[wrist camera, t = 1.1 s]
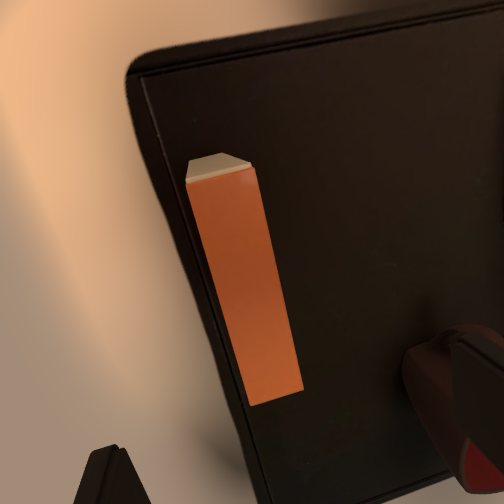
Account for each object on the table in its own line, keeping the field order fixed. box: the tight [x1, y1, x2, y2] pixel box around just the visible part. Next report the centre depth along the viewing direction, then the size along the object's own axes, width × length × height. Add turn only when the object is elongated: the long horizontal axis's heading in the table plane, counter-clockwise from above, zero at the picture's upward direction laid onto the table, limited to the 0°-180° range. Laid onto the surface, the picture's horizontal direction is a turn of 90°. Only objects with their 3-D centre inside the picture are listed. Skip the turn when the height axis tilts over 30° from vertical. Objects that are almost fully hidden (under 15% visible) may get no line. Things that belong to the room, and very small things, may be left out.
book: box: [186, 153, 304, 406], centre depth 24 cm, size 3×12×16 cm, turn 13°
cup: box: [402, 324, 504, 494], centre depth 34 cm, size 10×14×12 cm
